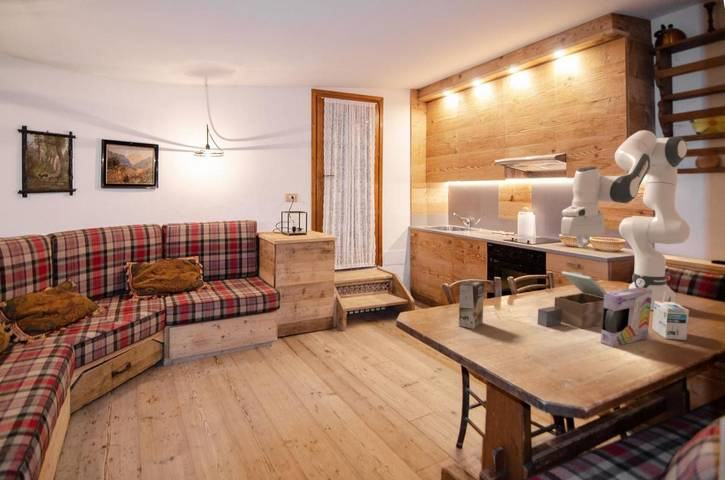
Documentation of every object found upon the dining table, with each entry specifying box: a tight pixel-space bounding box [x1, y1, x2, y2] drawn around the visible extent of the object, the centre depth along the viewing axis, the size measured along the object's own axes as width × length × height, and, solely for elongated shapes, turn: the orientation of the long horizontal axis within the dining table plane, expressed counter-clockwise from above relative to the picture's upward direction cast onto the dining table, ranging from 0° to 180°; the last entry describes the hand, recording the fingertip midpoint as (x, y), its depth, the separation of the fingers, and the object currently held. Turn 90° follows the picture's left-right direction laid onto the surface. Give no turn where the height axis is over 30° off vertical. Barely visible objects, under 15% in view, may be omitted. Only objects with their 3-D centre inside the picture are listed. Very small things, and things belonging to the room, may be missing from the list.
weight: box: [537, 305, 562, 328], centre depth 163 cm, size 8×4×6 cm, turn 116°
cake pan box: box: [600, 287, 652, 348], centre depth 144 cm, size 19×5×18 cm, turn 114°
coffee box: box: [458, 280, 485, 330], centre depth 162 cm, size 9×6×16 cm
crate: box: [553, 292, 604, 329], centre depth 167 cm, size 16×12×9 cm
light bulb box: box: [651, 301, 690, 341], centre depth 152 cm, size 11×7×11 cm, turn 168°
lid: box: [561, 270, 607, 298], centre depth 166 cm, size 16×12×2 cm
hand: (582, 247), depth 163 cm, fingers closed
